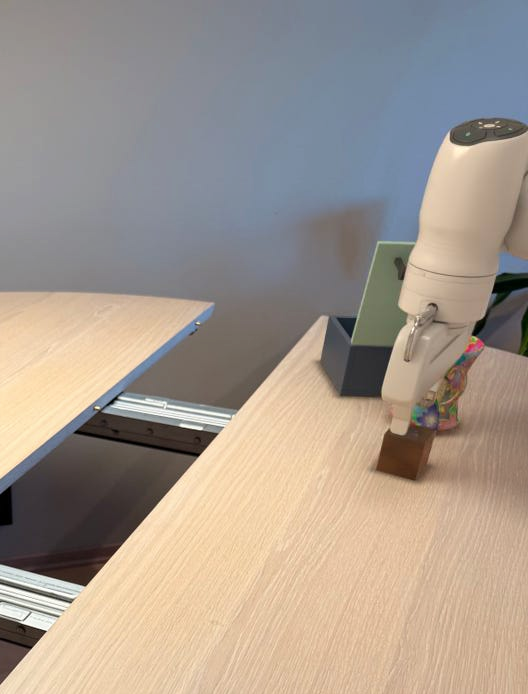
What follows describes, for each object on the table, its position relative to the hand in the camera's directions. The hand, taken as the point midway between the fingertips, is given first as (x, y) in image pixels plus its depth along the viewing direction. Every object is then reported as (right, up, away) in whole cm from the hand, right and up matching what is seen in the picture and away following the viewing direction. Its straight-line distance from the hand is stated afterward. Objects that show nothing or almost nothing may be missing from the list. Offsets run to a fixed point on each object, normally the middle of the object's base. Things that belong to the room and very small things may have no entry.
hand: (411, 418), depth 111 cm
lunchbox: (+3, +11, +26) cm, 29 cm away
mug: (+7, +2, +14) cm, 16 cm away
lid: (+3, +18, +12) cm, 22 cm away
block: (0, -5, +4) cm, 6 cm away
